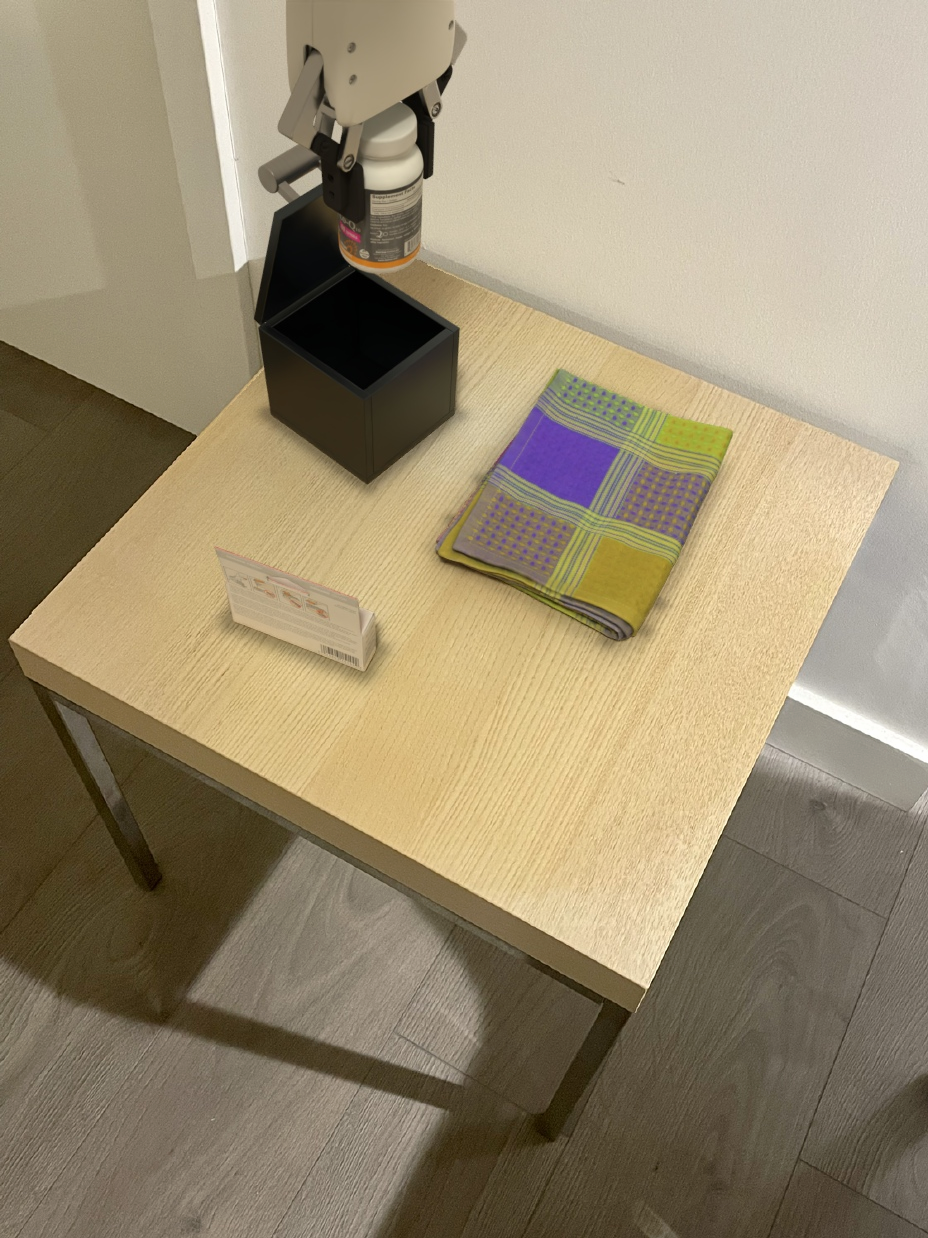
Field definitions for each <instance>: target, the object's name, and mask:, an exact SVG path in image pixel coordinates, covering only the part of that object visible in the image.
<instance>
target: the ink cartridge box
mask: <svg viewBox="0 0 928 1238" xmlns="http://www.w3.org/2000/svg"><path fill="white" fill-rule="evenodd" d="M214 551H215V553H216V556H217V559H218V562H219V564H220V568H221V571H222V573H223V576H224V579H225V581H224V586H225V590H226V595H227V600H228V604H229V611H230V614H231V615H230V616H231V620H232V621H233V622H234V623H236V624H240V625H243V626H245V627H248V628H251V629H253V630H256V631H258V632H261V633H263V634H266V635H268V636H271V637H273V638H276V639H279V640H281V641H284V642H286V643H288V644H291V645H294V646H296V647H299V648H301V649H304V650H306V651H308V652H312V653H313V654H316V655H319V656H322V657H325V658H327V659H330V660H332V661H335V662H337V663H340V664H342V665H345V666H348V667H350V668H351V669H355V670H358V671H360V672H363V673H365V672H366V670H367V668H368V667H369V665H370V663H371V660H372V659H373V658H374V655H375V653H376V650H377V639H376V636H377V635H376V613H375V612H374V611H372V610H369V609H366V608H364V607H361V606H360V602H359V599H358V598H357V597H354V596H350V595H349V594H346V593H343V592H340V591H337V590H335V589H332V588H330V587H328V586H325V585H322V584H319V583H316V582H314V581H311V580H309V579H306V578H302V577H300V576H298V575H295V574H292V573H289V572H286V571H283V570H281V569H278V568H276V567H273V566H270V565H268V564H264V563H261V562H259V561H256V560H254V559H251V558H249V557H246V556H243V555H240V554H237V553H235V552H231V551H229V550H227V549H223V548H220V547H218V546H214Z"/></svg>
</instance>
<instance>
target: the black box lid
mask: <svg viewBox="0 0 928 1238" xmlns="http://www.w3.org/2000/svg"><path fill="white" fill-rule="evenodd" d="M316 169H318V170H319V171H320V172H321V158H320V156H318V155H317V154H315V153H313V152H312V151H310V150H308V149H306V148H305V147H303V146H301V145H299V144H296V145H294V146H292V147H291V148H289V149H288V150H286V151H284V152H282V153H281V154H279V155H277V156H275V157H274V158H272V159H270V160H268V161H267V162H265V163H263V164H261V165H260V166H259V167H258V168H257V177H258V180H259V182H260V184H261V186H262V187H263V188H264V189H265V191H266V192H268V193H269V194H276V193H278V194H279V196H281V197H282V199H284V200H285V201H286V202H287V203H286V204H285V205H284V206H282V207H280V208H279V209H276V211H274V212H273V215H272V223H271V226H270V232H269V236H268V242H267V247H266V253H265V258H264V264H263V267H262V274H261V278H260V284H259V289H258V295H257V298H256V305H255V310H254V315H253V320H254V321H255V322H256V323H257V324H258V325H259V326H261V325H262V324H264V323H266V322H267V321H268V320H270V319H271V318H273V317H274V316H276V315H277V314H279V313H280V312H282V311H283V310H284V309H286V308H287V307H289V306H290V305H292V304H293V303H295V302H296V301H298V300H299V299H301V298H302V297H304V296H305V295H307V294H308V293H310V292H311V291H313V290H314V289H316V288H317V287H319V286H320V285H322V284H323V283H325V282H326V281H328V280H329V279H331V278H332V277H334V276H335V275H336V274H338V273H339V272H341V271H342V270H344V269H345V268H347V267H348V266H350V265H351V264H349V263H348V262H347V261H346V260H345V258H344V257H343V255H342V254H341V251H340V248H339V234H338V213H337V212H336V211H334V210H333V209H331V208H330V207H328V206H327V205H326V204H325V203H324V200H323V188H322V182H321V183H319V184H317V185H316V186H313V188H311V189H310V190H308V191H306V192H305V193H303V194H301V195H300V194H299V193H298V192H297V191H296V190H295V189H294V188H293V187H292V186H291V184H293V183H295V182H296V181H298V180H299V179H301V178H303V177H304V176H307V174H309V173H311V172H313V171H314V170H316Z"/></svg>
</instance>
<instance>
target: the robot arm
mask: <svg viewBox="0 0 928 1238" xmlns="http://www.w3.org/2000/svg"><path fill="white" fill-rule="evenodd" d="M285 37H286V40H285V42H286V64H287V76H288V77H287V78H288V85H289V93H290V95H289V97H288V100H287V103H286V105H285V107H284V109H283V111H282V113H281V116H280V118H279V120H278V123H277V131H278V133H279V134H281V135H282V136H284V137H285V138H287V139H288V140H290V141H292V142H294V143H295V144H296V145H298V144H299V145H301V146H303V147H305V148H306V149H308V150H310V151H312V152H313V153H315V154H317V155H318V156H320V158H321V171H320V172H321V183H322V188H323V200H324V203H325V204H326V205H327V206H328V207H330V208H331V209H333V210H334V211H336V212H337V213H339V214H341V215H342V216H344V217H345V218H347V219H349V220H350V221H352V222H353V223H355V224H357V223H359V222H361V221H362V220H364V216H365V200H364V170H363V166H362V165H361V164H359V163H357V162H356V157H357V153H358V148H359V144H360V139H361V135H362V130H363V125H364V121H365V120H367V119H369V118H371V117H373V116H375V115H377V114H378V113H380V112H382V111H384V110H386V109H387V108H389V107H391V106H392V105H394V104H396V103H398V102H401V103H403V104H405V105H407V106H408V107H409V108H411V110H412V111H413V112H414V114H415V116H416V120H417V139H416V142H415V144H416V145H417V146H418V148H419V150H420V151H421V154H422V158H423V180H428V179H430V178H431V177H433V175H434V167H435V166H434V165H435V164H434V162H435V161H434V160H435V130H436V129H435V127H436V122H435V121H433V120H435V119H437V118H439V116H440V115H441V114H442V111H443V100H442V96H443V94H444V92H445V90H446V88H447V86H448V84H449V82H450V81H451V78H452V76H453V71H454V69H453V66H455V65H456V63H457V61H458V59H459V57H460V55H461V54H462V52H463V51H464V48H465V46H466V44H467V42H468V38H469V35H468V33H467V31H466V30H465V29H464V28H463V26H462V25H461V24H460V23H459V22H458V21H457V20H456V0H285ZM335 123H337V125H339V126H340V127H342V126H343V130H342V129H341V135H340V140H339V142H337V141H336V140H335V139H333V133H334V127H335Z"/></svg>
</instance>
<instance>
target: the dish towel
mask: <svg viewBox="0 0 928 1238" xmlns="http://www.w3.org/2000/svg"><path fill="white" fill-rule="evenodd" d="M733 436H734V432H733V430H732V429H730V428H727V427H724V426H721V425H719V426H718V425H714V424H708V423H704V422H699V421H696V420H695V421H694V420H692V419H686V418H682V417H678V416H674V415H672V414H670V413H666V412H663V411H660V410H657V409H653V408H651V407H649V406H647V405H644V404H642V403H640V402H637V401H636V400H633V399H631V398H628V397H626V396H623V395H622V394H619V393H617V392H616V391H612V390H610V389H608V388H605V387H603V386H600V385H599V384H596V383H593V382H592V381H589V380H586V379H584V378H583V377H580V376H577V375H575V374H573V373H571V372H569V371H568V370H566V369H564V368H558V367H557V368H556V369H555V370H554V372H553V374H552V375H551V377H550V378H549V380H548V382H547V383H546V384H545V387H544V388H543V390H542V391H541V393H540V395H539V396H538V398H537V400H536V401H535V404H534V406H533V407H532V408H531V410H530V412H529V413H528V415H527V417H526V418H525V420H524V422H523V423H522V424H521V426H520V428H519V429H518V431H517V434H515V436H514V437H513V438H512V439H511V440H510V442H509V443H508V445H507V446H506V447H505V448H504V450H503V451H502V452H501V454H500V455H499V456H498V458H497V459H496V461H494V462H493V463H494V464H492V465H491V467H490V468H489V469H488V470H487V472H486V473H485V475H484V476H483V478H482V479H481V481H480V482H479V484H478V485H477V486H476V488H475V489H474V491H473V492H472V493H471V494H470V496H469V497H468V498H467V499H466V500H465V501H464V503H463V504H462V506H461V507H460V509H459V510H458V512H457V513H456V515H454V517H452V519H451V521H450V522H449V523H448V525H447V526H446V527H445V529H444V530H443V531H442V532H441V533H440V534H439V535H438V536H437V538H436V539H435V542H436V545H435V546H434V550H435V551H437V555H438V556H440V557H441V558H444V559H447V560H450V561H453V562H457V563H459V564H462V565H464V566H465V567H467V568H470V569H471V570H475V571H477V572H479V573H482V574H485V575H488V576H490V577H493V578H496V579H498V580H500V581H502V582H504V583H506V584H508V585H510V586H512V587H514V588H516V589H518V590H520V591H521V592H523V593H525V594H526V595H528V596H530V597H532V598H533V599H536V600H537V601H540V602H542V603H543V604H545V605H547V606H549V607H551V608H553V609H555V610H557V611H559V612H562V613H563V614H565V615H567V616H570V617H571V618H574V619H575V620H577V621H579V622H580V623H581V624H584V625H587V626H588V627H590V628H591V629H594V630H596V631H597V632H599V633H601V634H603V635H605V636H606V637H608V638H610V639H613V640H616V641H622V640H627V639H629V638H630V637H634V636H636V635H637V634H638V631H639V630H640V628H641V627H642V625H643V624H644V622H645V621H646V618H647V617H648V616H649V613H650V611H651V610H652V608H653V607H654V605H655V602H656V601H657V598H658V597H659V595H660V593H661V591H662V589H663V588H664V586H665V583H666V582H667V580H668V578H669V576H670V574H671V572H672V568H673V567H674V565H675V564H676V562H677V561H678V560H679V557H680V554H681V552H682V549H683V547H684V545H685V544H686V541H687V539H688V537H689V536H690V532H691V529H692V527H693V525H694V522H695V520H696V518H697V517H698V513H699V511H700V510H701V507H702V505H703V503H704V501H705V498H706V496H707V495H708V493H709V492H710V489H711V486H712V484H713V482H714V481H715V479H716V478H717V475H718V474H719V472H720V467H721V465H722V463H723V461H724V458H725V456H726V453H727V451H728V448H729V446H730V443H731V442H732V439H733Z"/></svg>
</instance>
